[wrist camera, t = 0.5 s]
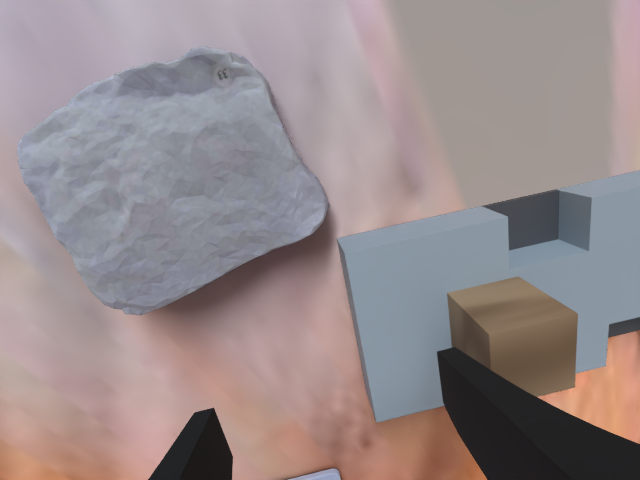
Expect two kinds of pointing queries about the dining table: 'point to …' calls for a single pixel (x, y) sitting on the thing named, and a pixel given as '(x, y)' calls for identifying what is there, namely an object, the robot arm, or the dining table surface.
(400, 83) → the dining table surface
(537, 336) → the walnut cube
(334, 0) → the dining table surface
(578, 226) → the board
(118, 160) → the stone block
